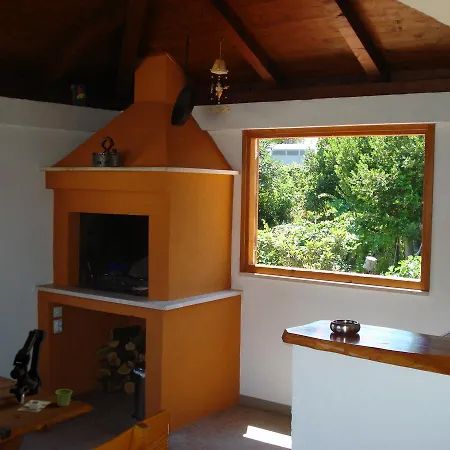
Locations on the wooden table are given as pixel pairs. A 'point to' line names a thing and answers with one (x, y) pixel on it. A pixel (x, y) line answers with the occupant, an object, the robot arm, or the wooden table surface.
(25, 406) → the board
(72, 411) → the wooden table surface
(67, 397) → the plant pot
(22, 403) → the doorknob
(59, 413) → the wooden table surface
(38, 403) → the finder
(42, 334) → the robot arm
